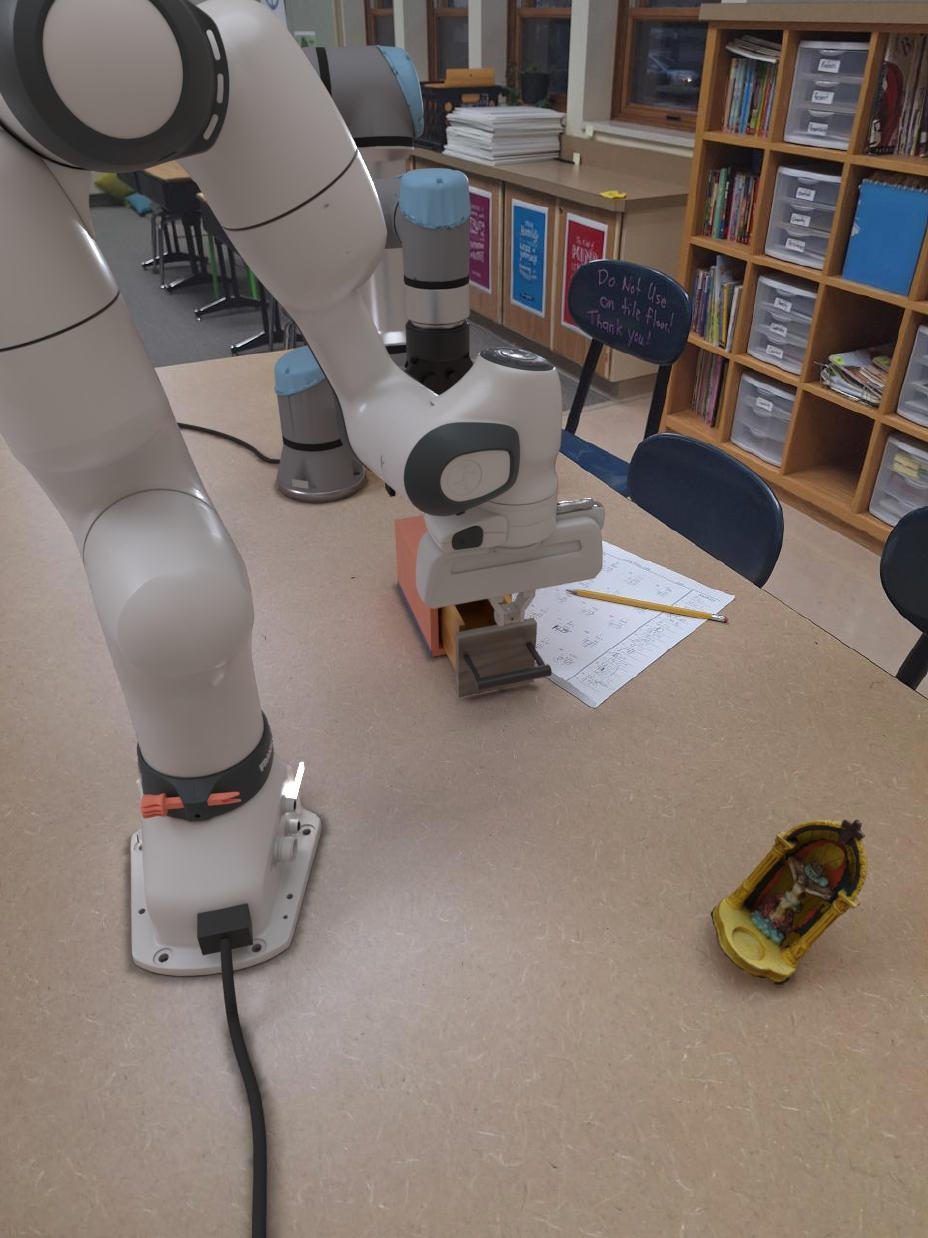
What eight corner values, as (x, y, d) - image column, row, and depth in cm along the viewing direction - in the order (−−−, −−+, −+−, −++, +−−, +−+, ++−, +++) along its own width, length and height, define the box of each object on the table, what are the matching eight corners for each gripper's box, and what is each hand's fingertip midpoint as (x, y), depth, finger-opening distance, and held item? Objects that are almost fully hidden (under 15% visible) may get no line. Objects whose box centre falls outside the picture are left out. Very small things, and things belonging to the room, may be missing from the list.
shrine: (791, 892, 81) (830, 781, 73) (851, 966, 75) (901, 853, 66) (686, 929, 78) (714, 817, 69) (739, 1009, 72) (776, 896, 63)
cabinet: (510, 641, 114) (513, 571, 108) (431, 657, 111) (429, 586, 105) (469, 573, 128) (469, 508, 121) (397, 586, 125) (394, 519, 118)
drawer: (552, 712, 101) (557, 652, 96) (474, 730, 99) (474, 669, 93) (490, 610, 118) (491, 554, 113) (422, 623, 116) (420, 566, 110)
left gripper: (593, 482, 92) (583, 589, 100) (408, 511, 87) (413, 622, 95) (619, 508, 87) (607, 619, 95) (425, 541, 82) (429, 655, 90)
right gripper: (525, 301, 106) (519, 459, 119) (325, 320, 100) (341, 485, 112) (549, 318, 100) (540, 482, 113) (338, 339, 94) (353, 511, 106)
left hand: (509, 621), depth 95 cm, fingers closed
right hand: (440, 484), depth 113 cm, fingers open, 13 cm apart
